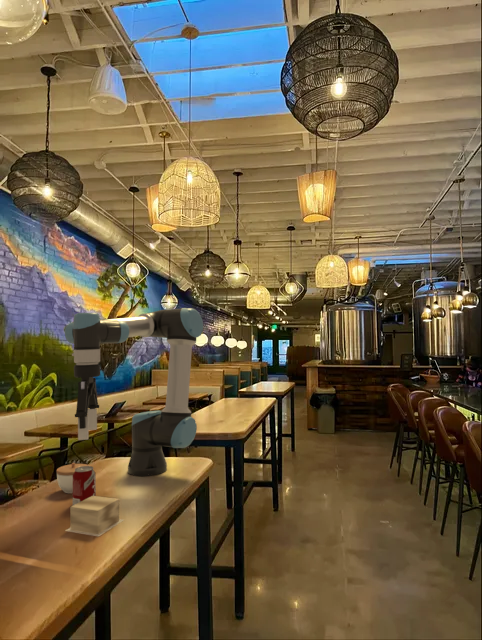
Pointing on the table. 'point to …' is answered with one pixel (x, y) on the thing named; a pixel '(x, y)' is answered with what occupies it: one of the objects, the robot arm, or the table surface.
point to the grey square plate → (93, 533)
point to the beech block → (94, 514)
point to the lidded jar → (67, 476)
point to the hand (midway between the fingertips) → (88, 434)
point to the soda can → (83, 483)
